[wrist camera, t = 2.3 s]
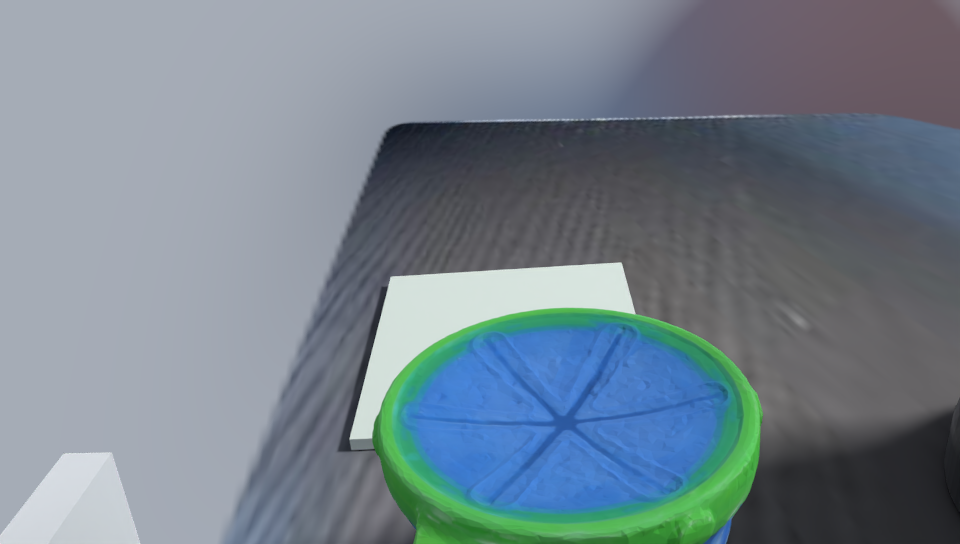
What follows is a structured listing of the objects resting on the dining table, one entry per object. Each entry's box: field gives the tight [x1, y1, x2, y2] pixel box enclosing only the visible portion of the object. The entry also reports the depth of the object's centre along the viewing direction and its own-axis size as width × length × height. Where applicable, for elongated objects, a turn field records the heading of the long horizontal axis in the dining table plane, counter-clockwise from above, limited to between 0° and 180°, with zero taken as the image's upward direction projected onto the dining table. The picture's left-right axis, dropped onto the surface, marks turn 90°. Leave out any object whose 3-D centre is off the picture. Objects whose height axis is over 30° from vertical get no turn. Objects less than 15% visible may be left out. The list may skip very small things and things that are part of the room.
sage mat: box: [349, 263, 635, 450], centre depth 46 cm, size 16×14×1 cm
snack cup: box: [372, 308, 763, 544], centre depth 27 cm, size 16×10×10 cm
